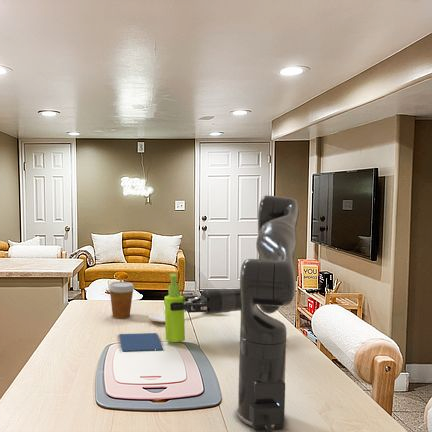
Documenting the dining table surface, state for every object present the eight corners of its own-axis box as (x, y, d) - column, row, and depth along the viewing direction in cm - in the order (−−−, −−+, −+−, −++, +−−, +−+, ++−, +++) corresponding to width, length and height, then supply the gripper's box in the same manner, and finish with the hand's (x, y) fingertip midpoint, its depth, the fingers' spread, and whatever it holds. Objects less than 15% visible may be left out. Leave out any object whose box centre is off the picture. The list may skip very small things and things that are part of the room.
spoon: (227, 314, 164) (228, 305, 163) (157, 327, 147) (157, 317, 147) (212, 308, 171) (212, 300, 171) (143, 320, 155) (143, 311, 154)
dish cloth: (163, 350, 127) (163, 348, 127) (122, 351, 125) (122, 350, 125) (156, 334, 141) (156, 333, 141) (119, 335, 139) (119, 334, 139)
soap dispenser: (183, 334, 137) (181, 272, 136) (185, 341, 130) (184, 275, 129) (164, 335, 137) (163, 272, 136) (166, 342, 130) (164, 276, 129)
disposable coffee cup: (104, 314, 163) (104, 282, 162) (128, 311, 167) (128, 280, 166) (113, 321, 154) (114, 288, 153) (138, 318, 158) (138, 285, 157)
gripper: (209, 284, 143) (161, 286, 139) (228, 294, 129) (174, 297, 125) (209, 306, 143) (161, 309, 139) (228, 319, 129) (174, 323, 125)
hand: (167, 304), depth 132 cm, fingers closed on soap dispenser, 6 cm apart
